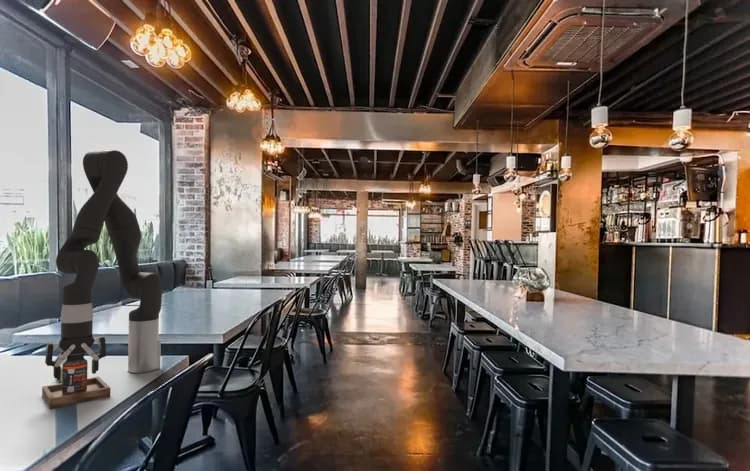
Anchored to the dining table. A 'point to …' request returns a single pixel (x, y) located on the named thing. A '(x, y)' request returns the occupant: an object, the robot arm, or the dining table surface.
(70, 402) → the walnut tray
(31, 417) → the dining table surface
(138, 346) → the robot arm
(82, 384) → the supplement bottle
